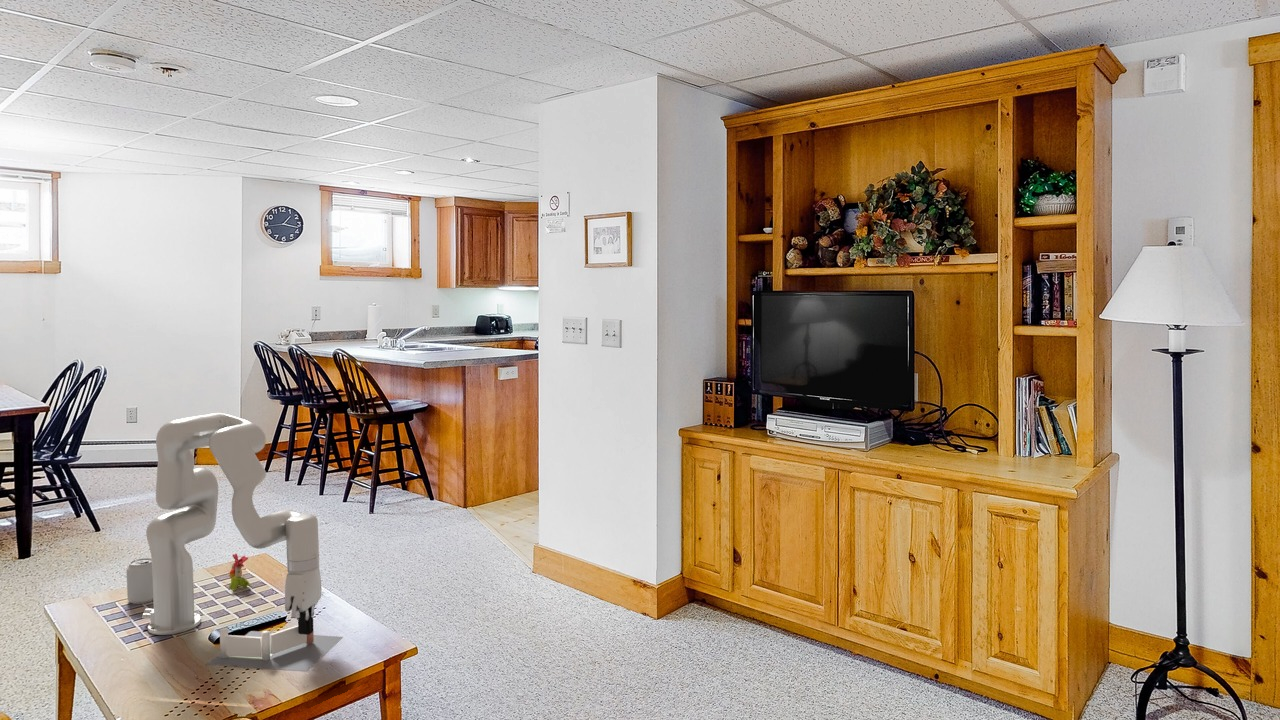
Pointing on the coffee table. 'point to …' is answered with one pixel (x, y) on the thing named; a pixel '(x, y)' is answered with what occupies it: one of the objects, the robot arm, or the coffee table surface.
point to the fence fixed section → (245, 645)
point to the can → (140, 581)
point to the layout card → (283, 655)
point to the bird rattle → (238, 573)
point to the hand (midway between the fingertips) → (306, 632)
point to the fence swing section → (288, 639)
